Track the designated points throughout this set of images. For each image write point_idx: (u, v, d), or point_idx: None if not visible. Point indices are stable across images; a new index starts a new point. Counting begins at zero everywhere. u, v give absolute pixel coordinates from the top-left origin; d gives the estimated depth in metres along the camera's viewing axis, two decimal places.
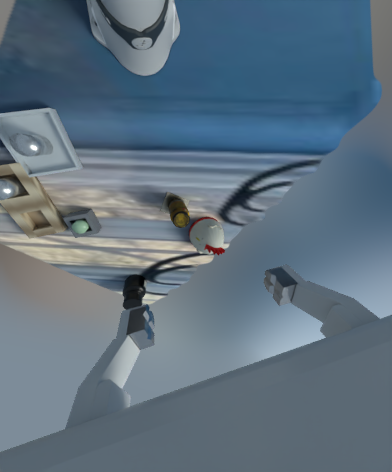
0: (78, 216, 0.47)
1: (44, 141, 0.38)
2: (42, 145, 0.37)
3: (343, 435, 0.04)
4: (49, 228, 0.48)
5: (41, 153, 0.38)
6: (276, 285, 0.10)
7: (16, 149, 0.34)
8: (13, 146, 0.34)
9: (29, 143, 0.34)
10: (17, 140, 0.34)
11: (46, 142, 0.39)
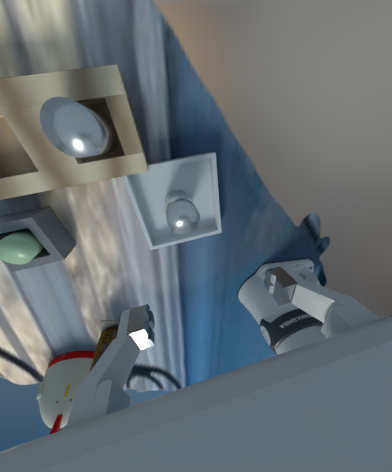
0: (49, 245, 0.22)
1: None
2: None
3: (343, 436, 0.04)
4: None
5: None
6: (276, 285, 0.10)
7: (176, 209, 0.19)
8: (181, 206, 0.19)
9: (187, 228, 0.21)
10: (190, 215, 0.20)
11: None
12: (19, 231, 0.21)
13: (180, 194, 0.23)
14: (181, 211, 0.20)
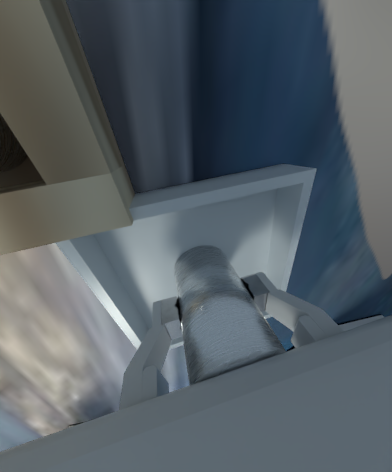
0: None
1: None
2: None
3: (343, 435, 0.04)
4: None
5: None
6: None
7: (226, 367, 0.06)
8: (242, 359, 0.06)
9: None
10: None
11: None
12: None
13: (217, 271, 0.09)
14: (239, 367, 0.06)
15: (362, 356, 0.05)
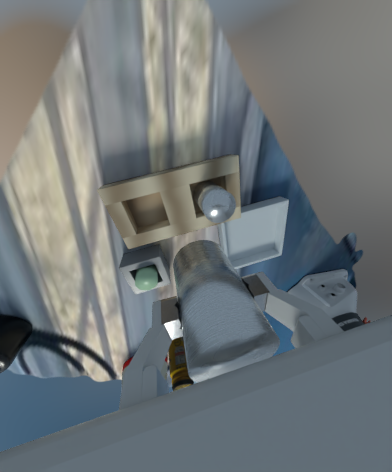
0: (164, 274, 0.29)
1: None
2: None
3: (343, 436, 0.04)
4: (131, 229, 0.24)
5: None
6: None
7: (221, 347, 0.06)
8: (235, 340, 0.06)
9: None
10: (253, 350, 0.07)
11: None
12: None
13: (213, 263, 0.10)
14: (233, 348, 0.06)
15: (362, 356, 0.05)
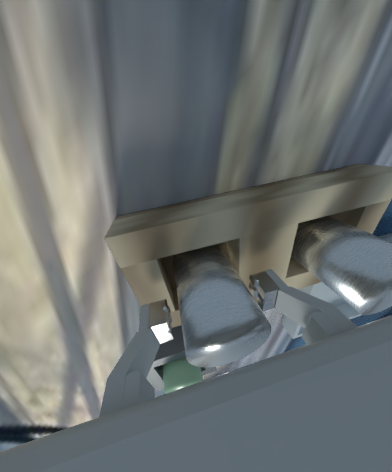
0: None
1: None
2: None
3: (343, 436, 0.04)
4: (168, 304, 0.12)
5: None
6: (259, 290, 0.10)
7: (215, 331, 0.07)
8: (228, 324, 0.07)
9: (234, 355, 0.08)
10: (247, 335, 0.08)
11: None
12: None
13: (210, 257, 0.10)
14: (227, 332, 0.07)
15: (362, 356, 0.05)
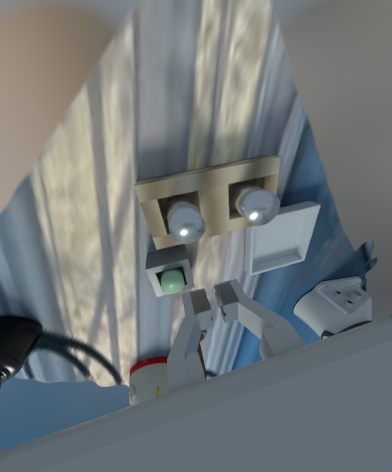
0: (190, 277, 0.28)
1: None
2: None
3: (343, 436, 0.04)
4: (163, 229, 0.23)
5: None
6: (220, 302, 0.09)
7: (180, 217, 0.18)
8: (185, 214, 0.18)
9: (191, 237, 0.19)
10: (194, 223, 0.18)
11: None
12: None
13: (183, 199, 0.21)
14: (185, 219, 0.18)
15: (362, 356, 0.05)
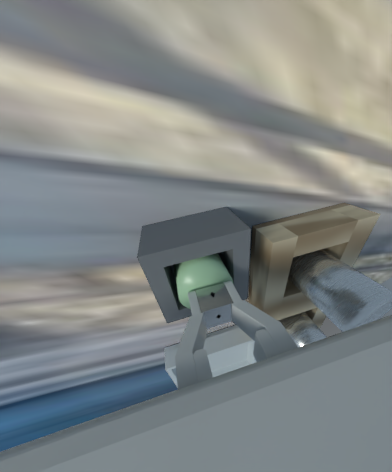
0: None
1: (295, 283, 0.15)
2: (311, 290, 0.13)
3: (343, 436, 0.04)
4: (304, 251, 0.13)
5: (327, 276, 0.13)
6: None
7: (391, 302, 0.11)
8: (390, 306, 0.12)
9: (352, 322, 0.11)
10: (369, 319, 0.12)
11: (288, 276, 0.16)
12: None
13: None
14: (383, 308, 0.11)
15: (362, 356, 0.05)
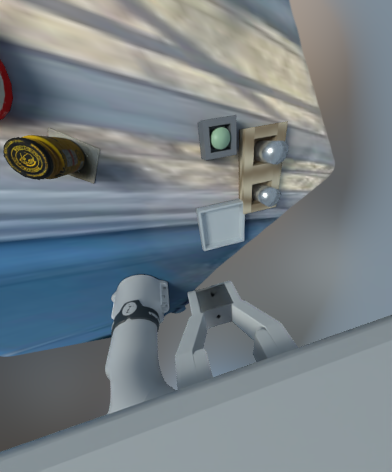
0: (218, 156, 0.34)
1: (257, 157, 0.36)
2: (261, 153, 0.34)
3: (343, 435, 0.04)
4: (258, 136, 0.34)
5: (265, 144, 0.34)
6: None
7: (286, 147, 0.32)
8: (286, 150, 0.33)
9: (272, 156, 0.33)
10: (280, 156, 0.33)
11: (255, 156, 0.37)
12: None
13: None
14: (284, 150, 0.33)
15: (362, 356, 0.05)
